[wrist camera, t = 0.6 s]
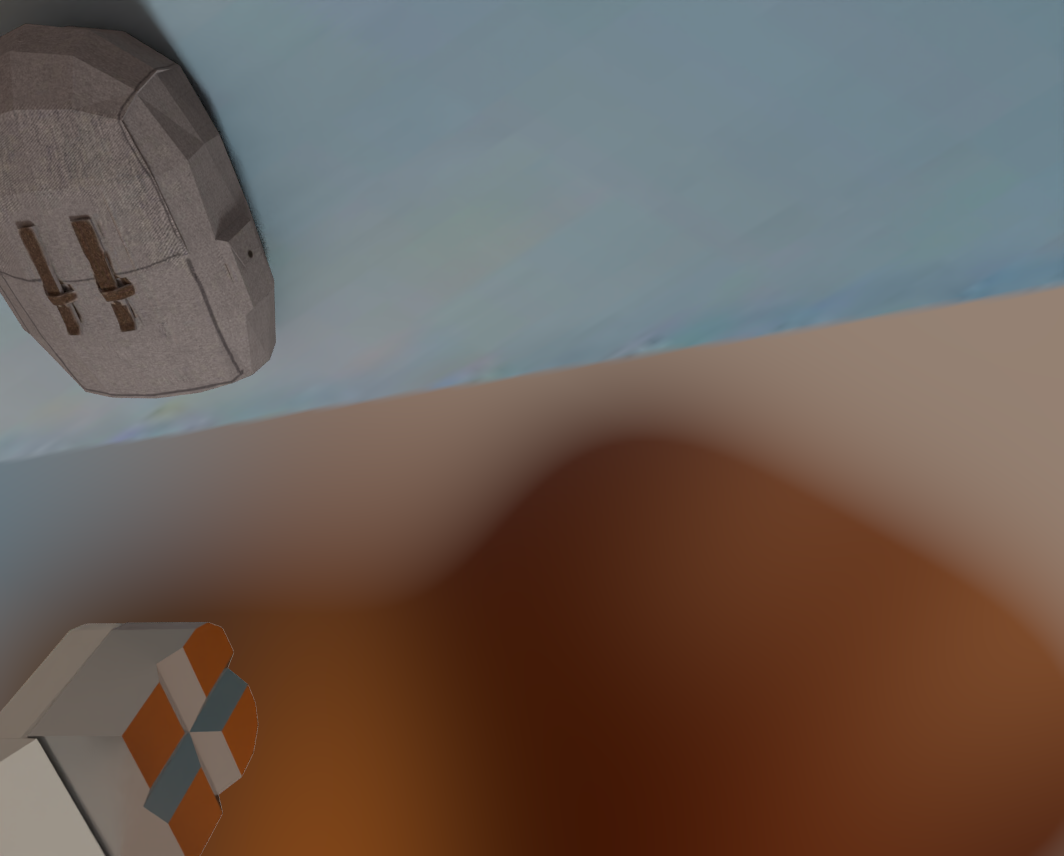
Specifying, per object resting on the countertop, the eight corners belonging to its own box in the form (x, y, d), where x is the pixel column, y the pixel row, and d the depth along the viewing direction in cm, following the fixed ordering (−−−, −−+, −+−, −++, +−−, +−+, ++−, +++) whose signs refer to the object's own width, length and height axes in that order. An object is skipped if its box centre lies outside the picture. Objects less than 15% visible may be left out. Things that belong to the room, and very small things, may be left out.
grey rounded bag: (324, 338, 59) (198, -20, 48) (269, 421, 52) (107, 29, 41) (106, 354, 63) (-59, 26, 52) (29, 433, 56) (-179, 78, 45)
